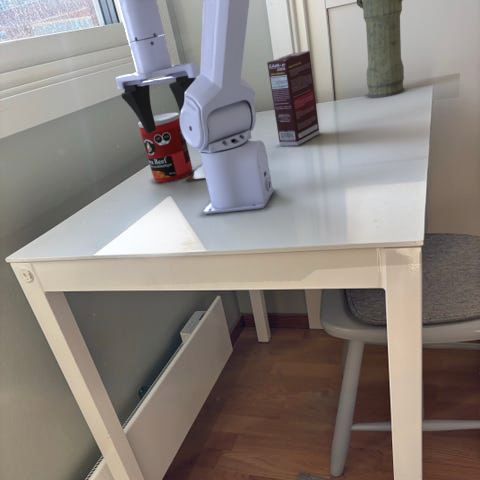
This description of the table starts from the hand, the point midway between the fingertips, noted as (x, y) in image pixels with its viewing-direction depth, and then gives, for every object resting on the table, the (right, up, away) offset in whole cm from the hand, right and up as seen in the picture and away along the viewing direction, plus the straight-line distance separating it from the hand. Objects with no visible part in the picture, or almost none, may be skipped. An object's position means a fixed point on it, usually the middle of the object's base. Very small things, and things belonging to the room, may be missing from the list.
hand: (170, 129), depth 85 cm
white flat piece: (+8, -3, +12) cm, 15 cm away
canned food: (-1, -4, +15) cm, 16 cm away
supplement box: (+24, +5, +20) cm, 32 cm away
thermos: (+49, +26, +45) cm, 72 cm away
